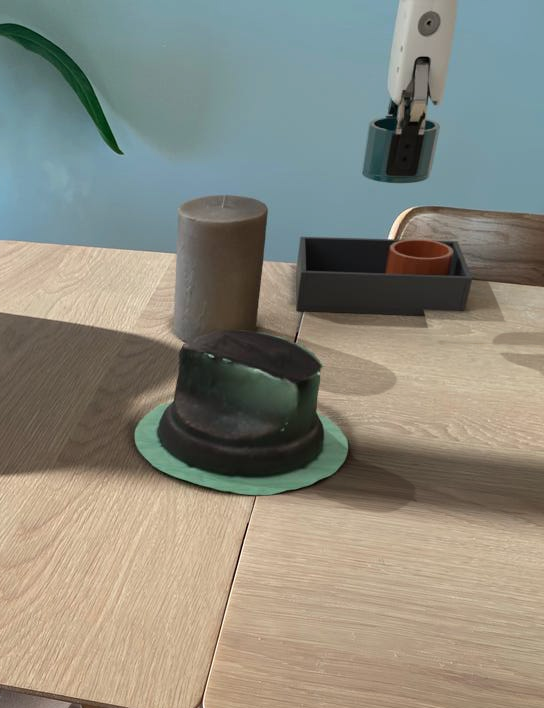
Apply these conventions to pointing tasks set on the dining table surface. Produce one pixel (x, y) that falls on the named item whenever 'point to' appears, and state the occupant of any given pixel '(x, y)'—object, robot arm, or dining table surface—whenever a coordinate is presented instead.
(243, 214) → the pillar candle
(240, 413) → the dark hat
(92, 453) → the dining table surface
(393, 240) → the tub
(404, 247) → the orange cup
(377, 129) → the teal cup
